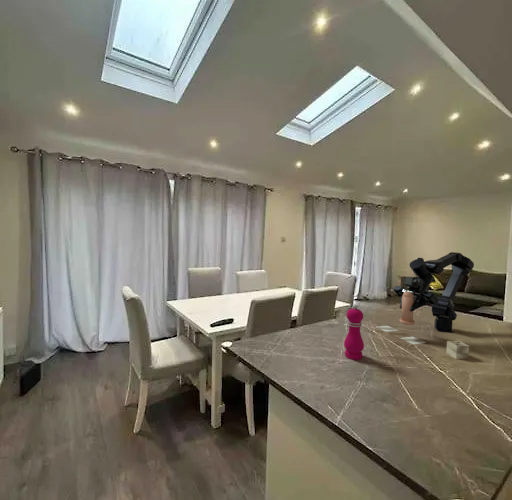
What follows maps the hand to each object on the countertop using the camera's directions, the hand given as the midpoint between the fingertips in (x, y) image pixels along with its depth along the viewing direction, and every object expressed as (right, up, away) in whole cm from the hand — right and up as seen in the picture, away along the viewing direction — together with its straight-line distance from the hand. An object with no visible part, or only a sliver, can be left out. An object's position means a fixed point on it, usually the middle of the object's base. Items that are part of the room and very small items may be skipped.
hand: (405, 309), depth 129 cm
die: (+12, -15, -16) cm, 25 cm away
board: (0, -13, +6) cm, 15 cm away
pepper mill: (-29, -14, -18) cm, 37 cm away
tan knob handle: (+1, -6, +1) cm, 6 cm away
